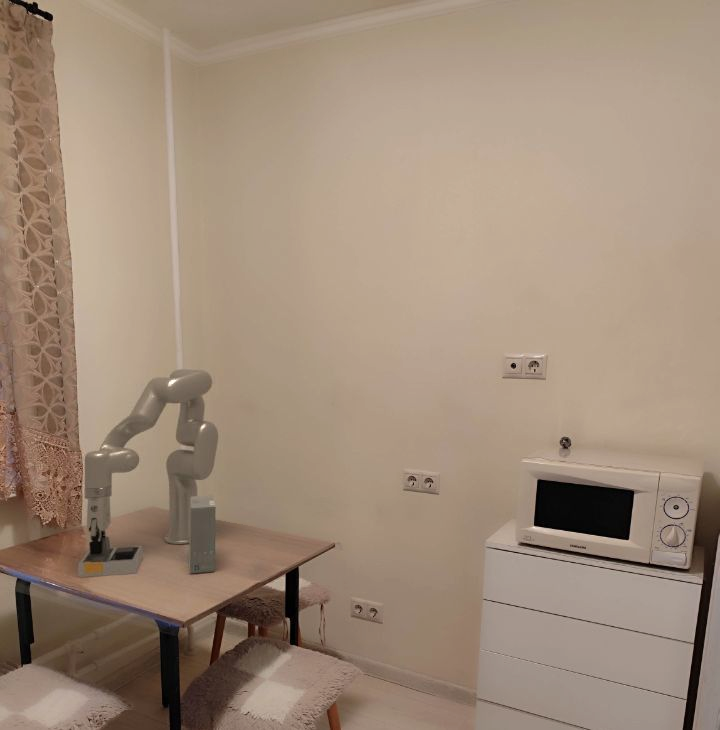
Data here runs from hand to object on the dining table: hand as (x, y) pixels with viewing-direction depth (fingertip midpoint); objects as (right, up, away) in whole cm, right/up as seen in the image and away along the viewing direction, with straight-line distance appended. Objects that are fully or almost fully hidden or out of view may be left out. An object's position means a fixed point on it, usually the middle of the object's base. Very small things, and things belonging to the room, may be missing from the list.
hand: (98, 550), depth 176 cm
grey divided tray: (+4, -5, +1) cm, 7 cm away
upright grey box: (+1, -1, 0) cm, 1 cm away
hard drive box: (+31, -6, +4) cm, 31 cm away
